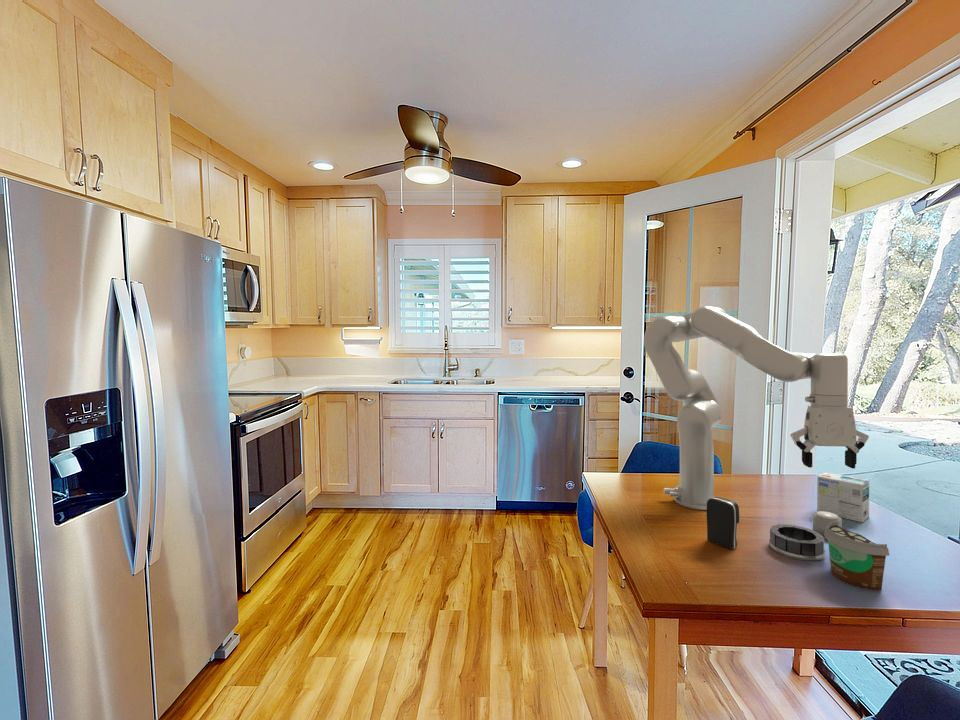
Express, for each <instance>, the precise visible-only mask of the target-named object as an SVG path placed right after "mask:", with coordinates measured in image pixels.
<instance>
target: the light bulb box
mask: <svg viewBox="0 0 960 720" xmlns="http://www.w3.org/2000/svg"><path fill="white" fill-rule="evenodd" d="M816 486H817V489H816V490H817V491H816V492H817V495H816V496H817V499H816V500H817V506H816V507H817V509H816V513H817V512H819V511H824V512H830V513H833V514H836V515H837V516H838V517H840V518H841V519H842V518H843V519H847V520H851V521H855V522H859V523H864V522H865V521H866V520H867V519H869V517H870V480H869V479H865V478H859V477H853V476H850V475H849V476H848V475H843V474H836V473H831V472H827V471H826V472H823V473H820V474H819V475H818V476H817V484H816Z"/></svg>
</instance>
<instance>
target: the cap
mask: <svg viewBox="0 0 960 720" xmlns="http://www.w3.org/2000/svg"><path fill="white" fill-rule="evenodd" d="M836 521H837V522H838V526H839V527H841V528H843V523H842V522H843V519H842V517H838V516H837V515H836V514H833V513H830V512H824V511H819V512H817V511H816V512H813V513H812V530H813V531H816V532H817V533H819V534H821V535H822V536H823V537H824V538H825V536H824V533H825V529H826V527H827V525H828V524H829V523H831V522H836Z"/></svg>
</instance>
